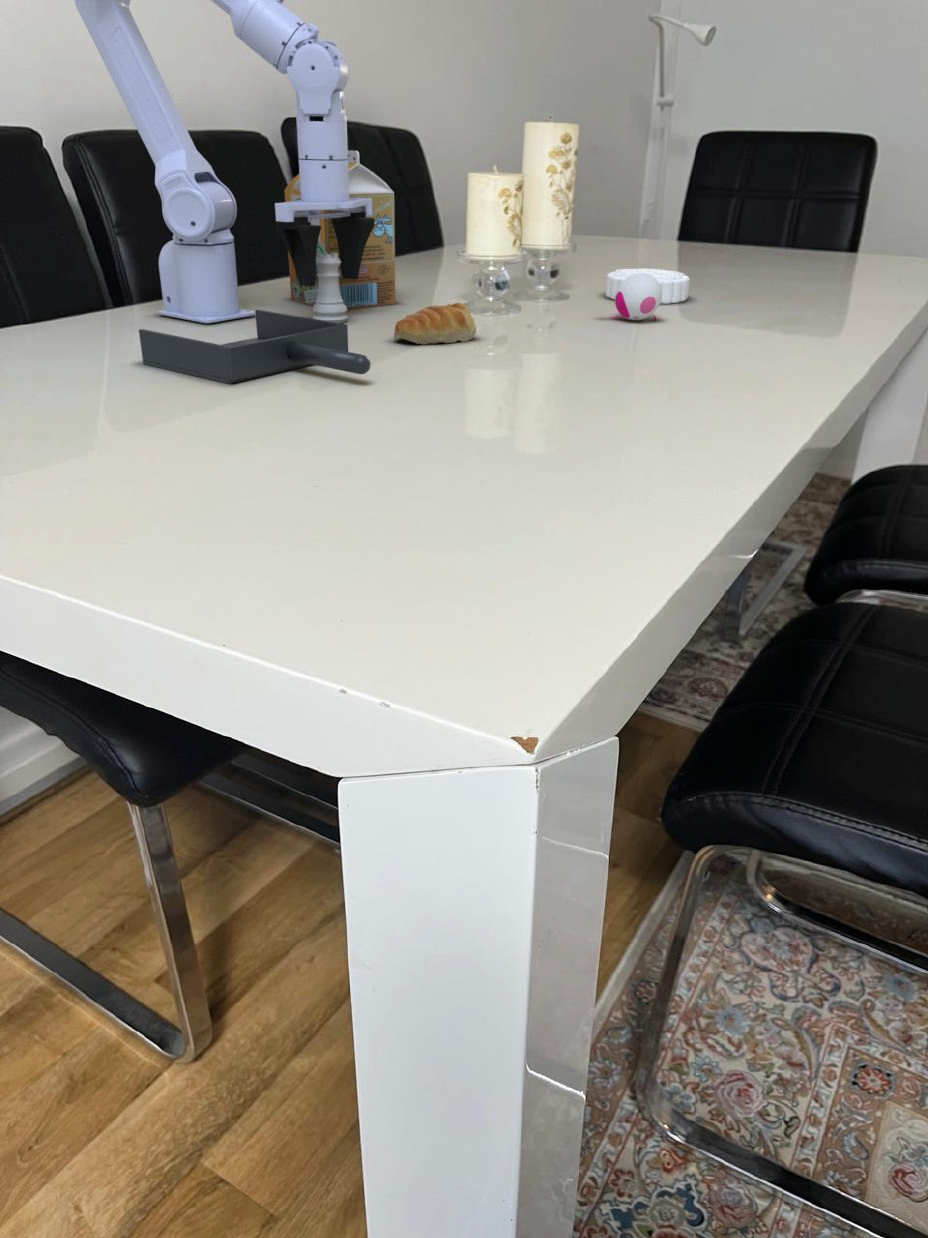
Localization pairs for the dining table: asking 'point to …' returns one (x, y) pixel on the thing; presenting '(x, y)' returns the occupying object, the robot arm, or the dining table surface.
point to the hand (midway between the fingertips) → (329, 281)
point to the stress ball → (638, 297)
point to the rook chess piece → (329, 290)
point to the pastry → (437, 325)
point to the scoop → (257, 350)
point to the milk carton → (379, 249)
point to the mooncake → (670, 281)
